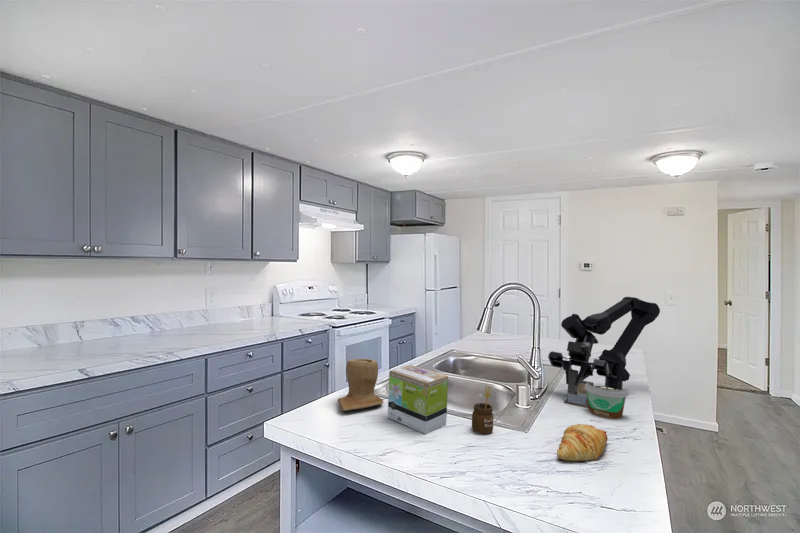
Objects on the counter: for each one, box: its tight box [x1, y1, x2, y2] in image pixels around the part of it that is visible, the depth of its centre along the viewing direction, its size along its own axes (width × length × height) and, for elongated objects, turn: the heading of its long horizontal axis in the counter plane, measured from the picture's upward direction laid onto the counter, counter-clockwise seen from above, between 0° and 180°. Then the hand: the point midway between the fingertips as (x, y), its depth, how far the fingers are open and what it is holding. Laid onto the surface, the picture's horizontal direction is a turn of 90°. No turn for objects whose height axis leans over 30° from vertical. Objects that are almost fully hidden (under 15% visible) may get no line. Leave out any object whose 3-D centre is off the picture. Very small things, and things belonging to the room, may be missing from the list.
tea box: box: [387, 364, 449, 435], centre depth 119 cm, size 15×10×15 cm, turn 47°
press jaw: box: [567, 368, 587, 406], centre depth 135 cm, size 3×6×10 cm, turn 58°
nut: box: [577, 383, 588, 398], centre depth 142 cm, size 4×4×4 cm
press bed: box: [563, 380, 595, 409], centre depth 140 cm, size 16×8×6 cm, turn 148°
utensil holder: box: [471, 384, 494, 435], centre depth 114 cm, size 6×6×12 cm
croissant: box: [556, 423, 609, 462], centre depth 104 cm, size 21×10×8 cm, turn 127°
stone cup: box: [337, 358, 384, 412], centre depth 130 cm, size 15×12×15 cm
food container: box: [585, 383, 629, 420], centre depth 125 cm, size 12×6×10 cm, turn 62°
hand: (571, 384), depth 134 cm, fingers closed on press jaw, 2 cm apart
